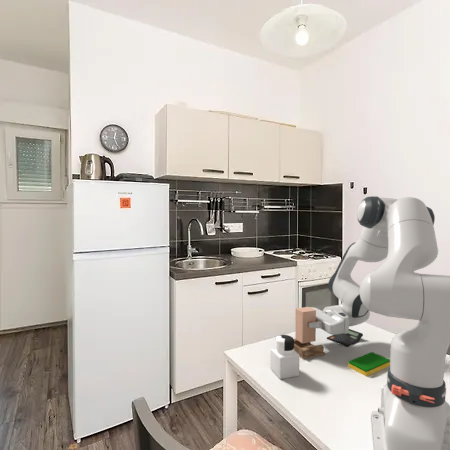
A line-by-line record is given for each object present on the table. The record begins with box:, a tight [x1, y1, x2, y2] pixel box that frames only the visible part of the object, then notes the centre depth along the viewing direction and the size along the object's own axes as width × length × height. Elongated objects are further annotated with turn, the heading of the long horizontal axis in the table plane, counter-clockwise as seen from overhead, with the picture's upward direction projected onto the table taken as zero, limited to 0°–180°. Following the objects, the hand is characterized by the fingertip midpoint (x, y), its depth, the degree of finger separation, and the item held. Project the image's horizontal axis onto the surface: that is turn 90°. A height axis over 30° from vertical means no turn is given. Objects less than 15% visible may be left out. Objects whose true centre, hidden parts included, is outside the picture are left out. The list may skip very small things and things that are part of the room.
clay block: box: [294, 306, 317, 344], centre depth 117 cm, size 6×4×12 cm
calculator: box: [326, 328, 364, 348], centre depth 127 cm, size 9×12×3 cm
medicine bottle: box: [269, 334, 301, 380], centre depth 101 cm, size 7×7×12 cm
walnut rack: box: [293, 338, 326, 360], centre depth 117 cm, size 10×11×3 cm
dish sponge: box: [347, 351, 390, 377], centre depth 106 cm, size 7×14×2 cm, turn 121°
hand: (303, 322), depth 117 cm, fingers closed on clay block, 4 cm apart
